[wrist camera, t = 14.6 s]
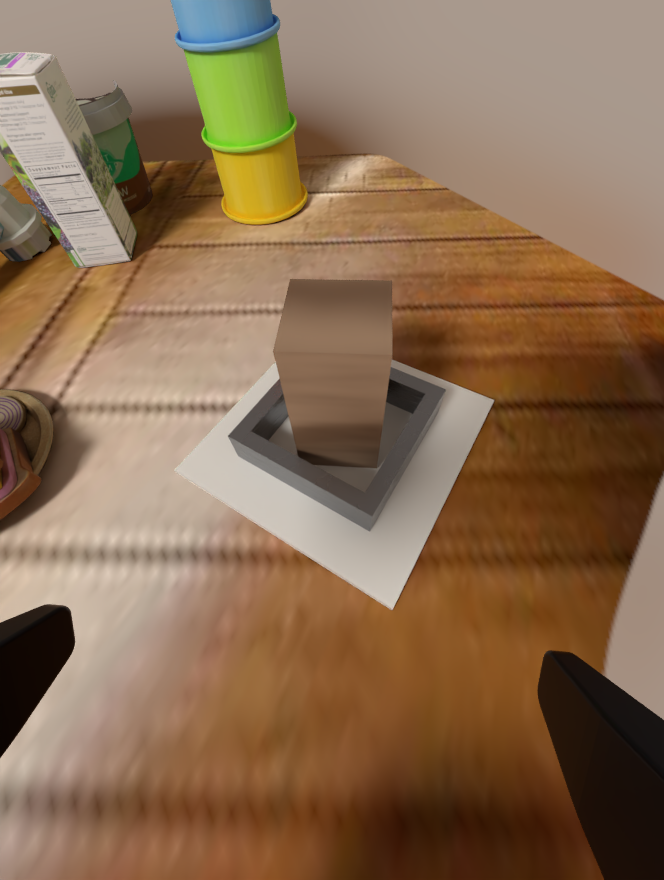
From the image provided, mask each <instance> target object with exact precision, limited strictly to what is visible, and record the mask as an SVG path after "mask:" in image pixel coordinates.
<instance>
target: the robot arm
mask: <svg viewBox="0 0 664 880" xmlns="http://www.w3.org/2000/svg"><path fill="white" fill-rule="evenodd" d="M74 646H75V636H74V629H73V622H72V616H71V611H70V609H69V608H68V607H66V606H63V605H52V604H47V605H43V606H40V607H38V608H35V609H33V610H30V611H28V612H25V613H23V614H21V615H18V616H16V617H13V618H11V619H8V620H6V621H3V622H1V623H0V758H1V756H2V755H3V754H4V752H5V751H6V750H7V748H8V747H9V746H10V744H11V743H12V742H13V740H14V739H15V737H16V736H17V734H18V733H19V732H20V730H21V729H22V727H23V726H24V724H25V723H26V721H27V720H28V718H29V717H30V715H31V714H32V712H33V711H34V709H35V708H36V706H37V705H38V703H39V702H40V701H41V699H42V698H43V696H44V695H45V693H46V692H47V690H48V689H49V687H50V686H51V684H52V683H53V681H54V680H55V678H56V677H57V675H58V674H59V672H60V671H61V669H62V668H63V666H64V665H65V663H66V662H67V660H68V659H69V657H70V656H71V654H72V652H73V649H74ZM538 699H539V703H540V707H541V710H542V713H543V716H544V719H545V722H546V725H547V728H548V731H549V733H550V736H551V739H552V742H553V745H554V748H555V751H556V754H557V757H558V760H559V763H560V766H561V769H562V772H563V775H564V778H565V781H566V784H567V787H568V790H569V793H570V796H571V799H572V802H573V804H574V807H575V810H576V813H577V815H578V818H579V820H580V823H581V825H582V828H583V830H584V833H585V835H586V837H587V840H588V842H589V844H590V847H591V849H592V851H593V854H594V856H595V858H596V861H597V863H598V866H599V868H600V870H601V873H602V875H603V877H604V880H664V720H663V719H662V718H660V717H659V716H657V715H656V714H655V713H653V712H652V711H651V710H649V709H648V708H647V707H645V706H644V705H643V704H641V703H640V702H638V701H637V700H636V699H634V698H633V697H632V696H630V695H629V694H628V693H626V692H625V691H624V690H622V689H621V688H619V687H618V686H617V685H615V684H614V683H613V682H611V681H610V680H609V679H607V678H606V677H605V676H603V675H602V674H600V673H599V672H598V671H596V670H595V669H594V668H592V667H591V666H590V665H588V664H587V663H586V662H584V661H583V660H581V659H580V658H579V657H577V656H576V655H574V654H573V653H570V652H562V651H547V652H546V653H545V655H544V657H543V662H542V667H541V672H540V678H539V683H538Z"/></svg>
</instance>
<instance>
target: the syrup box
mask: <svg viewBox="0 0 664 880" xmlns="http://www.w3.org/2000/svg"><path fill="white" fill-rule="evenodd" d="M0 152H1V153H2V155H3V157H4V158H5V159H6V161H7V163H8V164H9V166H10V167H11V169H12V170H13V172H14V173H15V175H16V176H17V178H18V179H19V181H20V183H21V184H22V186H23V187H24V189H25V190H26V192H27V193H28V195H29V196H30V198H31V199H32V201H33V202H34V204H35V205H36V207H37V208H38V210H39V211H40V213H41V214H42V216H43V217H44V219H45V220H46V222H47V223H48V225H49V227H50V228H51V230H52V231H53V233H54V234H55V236H56V237H57V239H58V240H59V242H60V243H61V245H62V246H63V248H64V249H65V251H66V252H67V254H68V256H69V257H70V259H71V260H72V262H73V263H74V265H75V266H76V267H78V268H83V267H90V266H98V265H106V264H113V263H119V262H126V261H131V259H132V255H133V250H134V246H135V242H136V237H137V230H136V228H135V226H134V223H133V221H132V219H131V217H130V215H129V213H128V211H127V208H126V206H125V204H124V202H123V200H122V198H121V196H120V194H119V191H118V189H117V187H116V185H115V183H114V181H113V178H112V176H111V174H110V172H109V170H108V168H107V165H106V163H105V161H104V159H103V157H102V155H101V153H100V150H99V148H98V146H97V144H96V142H95V140H94V138H93V135H92V133H91V131H90V129H89V127H88V125H87V123H86V121H85V118H84V116H83V114H82V112H81V110H80V108H79V106H78V104H77V102H76V99H75V97H74V95H73V93H72V91H71V89H70V87H69V85H68V82H67V80H66V78H65V76H64V74H63V72H62V69H61V67H60V65H59V63H58V61H57V58H56V57H55V56H53V55H52V54H43V53H28V52H27V53H26V52H21V53H6V54H0Z"/></svg>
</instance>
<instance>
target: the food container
mask: <svg viewBox="0 0 664 880" xmlns="http://www.w3.org/2000/svg"><path fill="white" fill-rule="evenodd" d="M113 82H114V85H115V90H114V91H113V92H112V93H108V94H106V95H103V96H99V97H95V98H90V99H76V102H77V104H78V106H79V108H80V110H81V112H82V114H83V116H84V118H85V121H86V123H87V125H88V127H89V129H90V131H91V133H92V135H93V138H94V140H95V142H96V144H97V146H98V148H99V150H100V153H101V155H102V157H103V159H104V161H105V163H106V165H107V168H108V170H109V172H110V174H111V176H112V178H113V181H114V183H115V185H116V187H117V189H118V191H119V194H120V196H121V198H122V200H123V202H124V204H125V206H126V208H127V211H128V213H129V215H130V214H132V213H135V212H137V211H139V210H140V209H142V208H143V207H145V206H146V205H147V204H148V203H149V202H150V200H151V199H152V190H151V187H150V184H149V181H148V178H147V174H146V171H145V168H144V165H143V162H142V159H141V156H140V152H139V149H138V146H137V143H136V140H135V137H134V133H133V130H132V127H131V124H130V121H129V118H128V117H129V116H130V115H131V113H132V107H131V106H130V104H129V102H128V100H127V98H126V97H125V95H124V93H123V91H122V90H121V89H120V88H118V85H117V84H116V82H115V81H114V80H113Z"/></svg>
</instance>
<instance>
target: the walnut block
mask: <svg viewBox="0 0 664 880" xmlns="http://www.w3.org/2000/svg"><path fill="white" fill-rule="evenodd" d="M273 353H274V357H275V361H276V365H277V369H278V374H279V378H280V382H281V386H282V390H283V395H284V399H285V403H286V407H287V411H288V415H289V420H290V424H291V428H292V432H293V436H294V441H295V445H296V449H297V453H298V457H300V458H301V459H303V460H305V461H307V462H309V463H311V464H313V465H324V466H342V467H360V468H377V463H378V456H379V449H380V442H381V434H382V427H383V420H384V413H385V405H386V398H387V391H388V384H389V376H390V369H391V362H392V281H377V280H311V279H290V282H289V287H288V291H287V295H286V299H285V304H284V308H283V312H282V316H281V320H280V325H279V329H278V333H277V337H276V342H275V346H274V350H273Z"/></svg>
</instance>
